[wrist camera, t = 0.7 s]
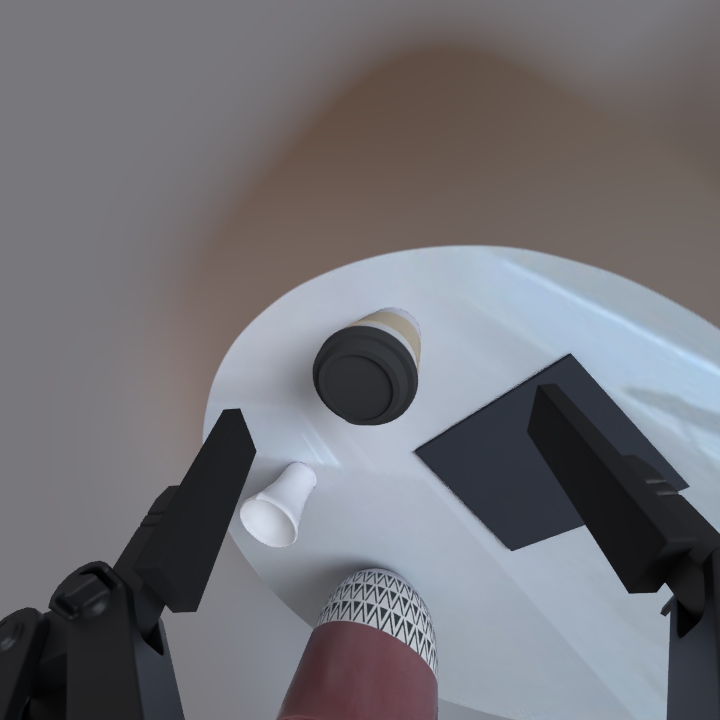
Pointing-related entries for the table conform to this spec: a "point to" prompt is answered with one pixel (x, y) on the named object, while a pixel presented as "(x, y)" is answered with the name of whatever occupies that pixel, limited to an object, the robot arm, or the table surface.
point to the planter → (368, 655)
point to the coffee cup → (370, 368)
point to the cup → (279, 507)
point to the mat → (529, 457)
